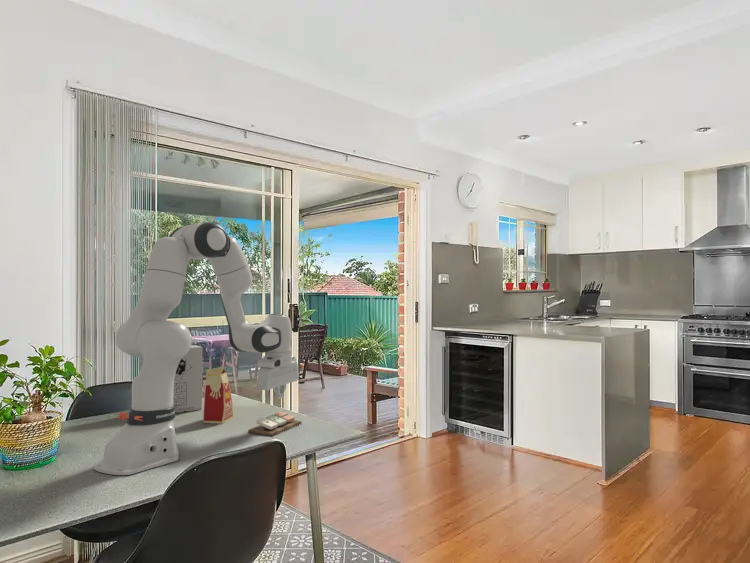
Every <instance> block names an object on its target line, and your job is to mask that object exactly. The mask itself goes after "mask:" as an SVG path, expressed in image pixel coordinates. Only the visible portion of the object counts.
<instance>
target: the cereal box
mask: <svg viewBox="0 0 750 563" xmlns="http://www.w3.org/2000/svg"><path fill="white" fill-rule="evenodd" d="M139 358H140V362H139V363H140V364H139V365H140V368H139V369H140V370H139V372H140V371H141V368H142V365H143V358H142V357H139ZM173 404H174V405H175V412H179V413H184V411H187V412H192V411H201V410H202V409H203V346H199V345H194V344H193V345H191V347H190V350H189V351H188V353H187V354H186V355H185V356H183V358H182V359H181V360H180V362H179V365H178V367H177V370H176V374H175V378H174V399H173Z"/></svg>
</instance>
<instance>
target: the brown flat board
mask: <svg viewBox="0 0 750 563" xmlns="http://www.w3.org/2000/svg"><path fill="white" fill-rule="evenodd" d="M299 424H300V425H302V420H295V419H294V420H293V421H290V422H286V423H285V424H283V425H281V426H278V427H276V428H273V429H271V430H270V429H268V428H266V427H264V426H261V425H259V424H258V425H257V426H255V427H253V428H252V427H251V428H250V429H248V430H247V431H248V433H249V434H253V435H254V434H255V435H262V436H269V437H275V436H277V435H279V434H281V432H282V433H284V432H286V431H289V430H291V429H293V428H295V426H296V427H298V426H300V425H299ZM297 425H298V426H297ZM292 427H293V428H292ZM290 428H291V429H290ZM288 429H289V430H288ZM285 430H286V431H285ZM283 431H284V432H283Z"/></svg>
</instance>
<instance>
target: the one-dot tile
mask: <svg viewBox="0 0 750 563" xmlns="http://www.w3.org/2000/svg"><path fill="white" fill-rule="evenodd" d="M255 424H257V425H258V426H259V425H261V426H264V427H266V428H268V429H270V430H271V429H273V428H276V427H278V424H277V423H275V422H273V421H270V420H268V419H266V417H263V418H260V419H257V420H256V423H255Z"/></svg>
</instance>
